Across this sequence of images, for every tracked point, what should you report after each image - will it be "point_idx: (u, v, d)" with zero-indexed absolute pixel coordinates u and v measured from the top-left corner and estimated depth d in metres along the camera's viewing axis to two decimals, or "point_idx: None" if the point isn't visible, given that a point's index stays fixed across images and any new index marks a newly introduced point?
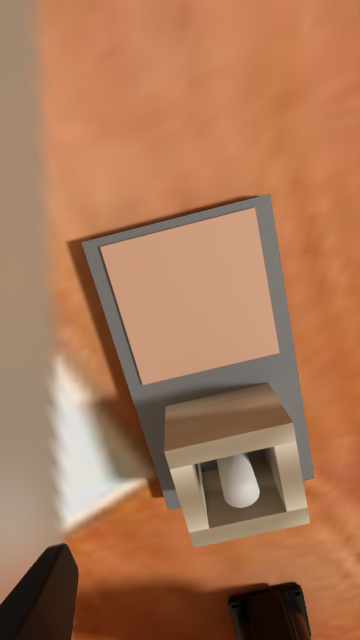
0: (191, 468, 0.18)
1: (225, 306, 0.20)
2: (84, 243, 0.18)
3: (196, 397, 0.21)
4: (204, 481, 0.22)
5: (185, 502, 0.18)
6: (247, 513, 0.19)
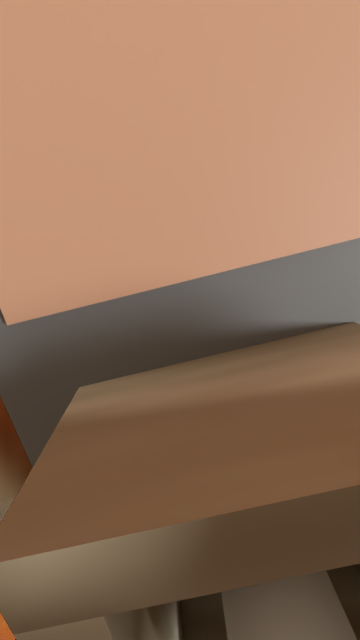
0: (107, 627, 0.04)
1: (241, 62, 0.06)
2: None
3: (161, 361, 0.08)
4: None
5: None
6: None
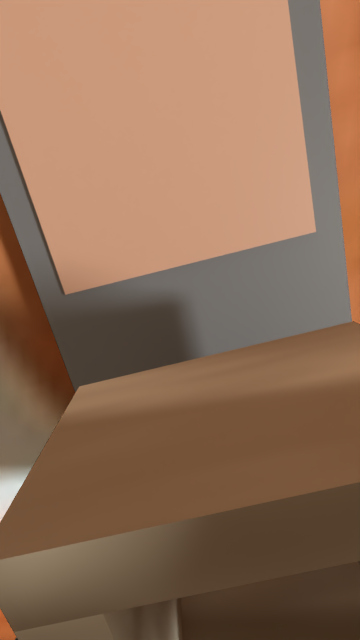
0: (107, 624, 0.04)
1: (214, 131, 0.10)
2: None
3: (165, 320, 0.12)
4: None
5: None
6: None
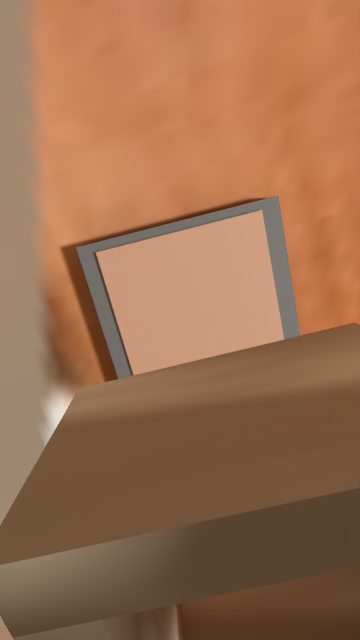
0: (107, 629, 0.04)
1: (230, 316, 0.18)
2: (79, 248, 0.17)
3: None
4: None
5: None
6: None
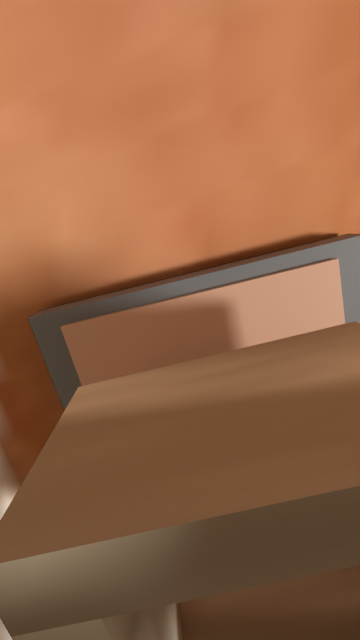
0: (105, 628, 0.04)
1: None
2: (33, 320, 0.10)
3: None
4: None
5: None
6: None
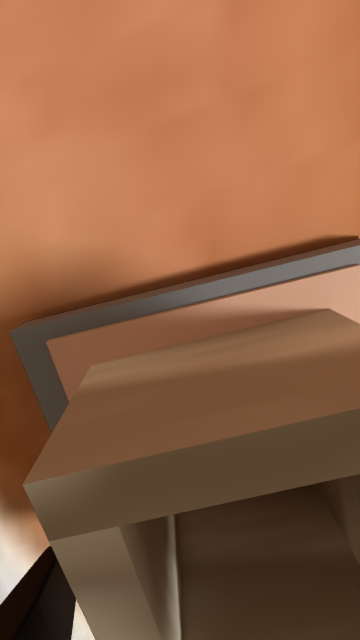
0: (121, 536, 0.05)
1: None
2: (15, 333, 0.09)
3: None
4: (182, 534, 0.10)
5: (109, 633, 0.06)
6: None
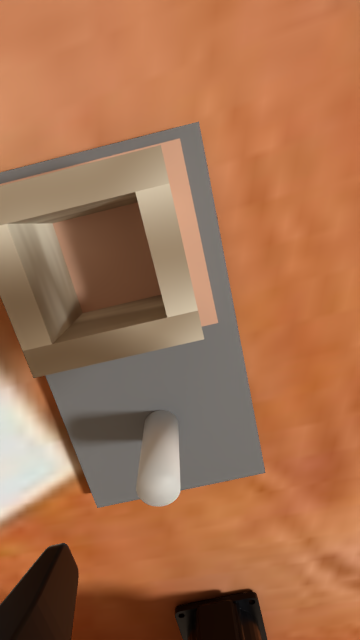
0: (9, 232, 0.11)
1: (150, 264, 0.16)
2: None
3: (123, 375, 0.18)
4: (79, 317, 0.16)
5: (8, 295, 0.12)
6: (113, 327, 0.13)
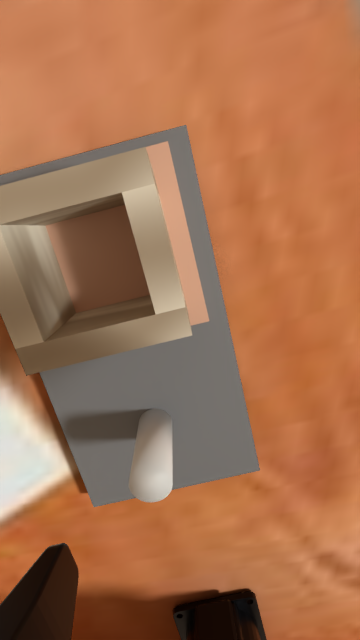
0: (1, 233, 0.12)
1: (141, 264, 0.17)
2: None
3: (116, 374, 0.18)
4: (72, 317, 0.16)
5: (0, 294, 0.12)
6: (103, 324, 0.13)
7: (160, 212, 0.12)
